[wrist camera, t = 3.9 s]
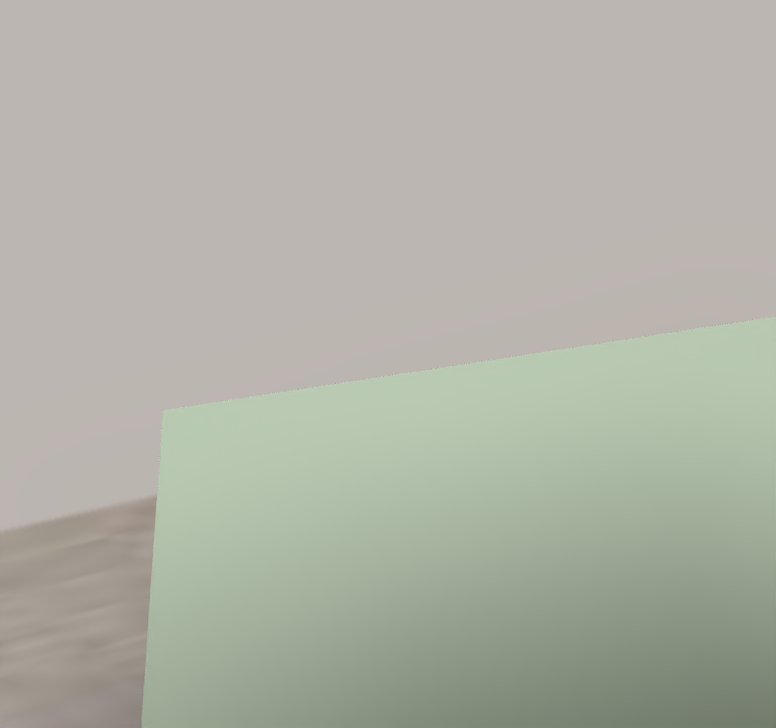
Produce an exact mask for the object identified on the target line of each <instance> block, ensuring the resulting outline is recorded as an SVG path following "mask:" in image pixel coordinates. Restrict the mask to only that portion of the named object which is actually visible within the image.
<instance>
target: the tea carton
mask: <svg viewBox="0 0 776 728" xmlns="http://www.w3.org/2000/svg"><path fill="white" fill-rule="evenodd" d="M159 462H160V463H159V477H158V490H157V505H156V519H155V534H154V548H153V563H152V577H151V592H150V606H149V620H148V635H147V649H146V664H145V678H144V693H143V707H142V722H141V728H776V317H769V318H763V319H756V320H750V321H743V322H736V323H730V324H724V325H717V326H710V327H704V328H697V329H690V330H684V331H677V332H671V333H665V334H658V335H652V336H645V337H638V338H632V339H625V340H619V341H612V342H606V343H599V344H592V345H586V346H580V347H573V348H567V349H560V350H553V351H547V352H540V353H533V354H527V355H521V356H514V357H507V358H501V359H494V360H488V361H481V362H475V363H468V364H461V365H455V366H449V367H442V368H435V369H429V370H423V371H416V372H409V373H403V374H396V375H389V376H383V377H377V378H370V379H363V380H357V381H350V382H344V383H338V384H331V385H324V386H318V387H311V388H305V389H298V390H291V391H285V392H278V393H272V394H265V395H260V396H252V397H246V398H239V399H232V400H227V401H219V402H213V403H207V404H200V405H193V406H187V407H181V408H174V409H167V410H163V418H162V433H161V447H160V461H159Z"/></svg>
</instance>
